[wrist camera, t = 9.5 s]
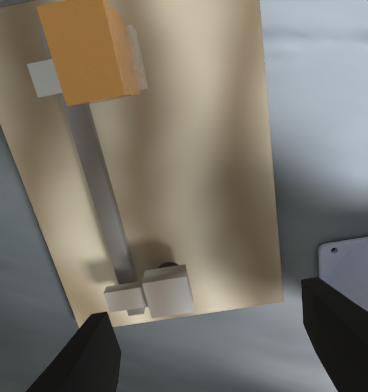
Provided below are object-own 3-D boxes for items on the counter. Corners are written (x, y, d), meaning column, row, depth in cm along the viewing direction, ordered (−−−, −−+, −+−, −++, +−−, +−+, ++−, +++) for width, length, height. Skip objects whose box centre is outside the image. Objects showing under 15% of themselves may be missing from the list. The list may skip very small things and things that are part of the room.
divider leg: (139, 31, 16) (109, -10, 9) (151, 93, 17) (133, 93, 10) (39, 51, 16) (-52, 25, 10) (58, 111, 17) (-13, 121, 11)
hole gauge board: (251, -40, 16) (270, -78, 12) (279, 293, 23) (296, 328, 19) (-29, 21, 16) (-85, 2, 13) (84, 322, 24) (68, 361, 20)
